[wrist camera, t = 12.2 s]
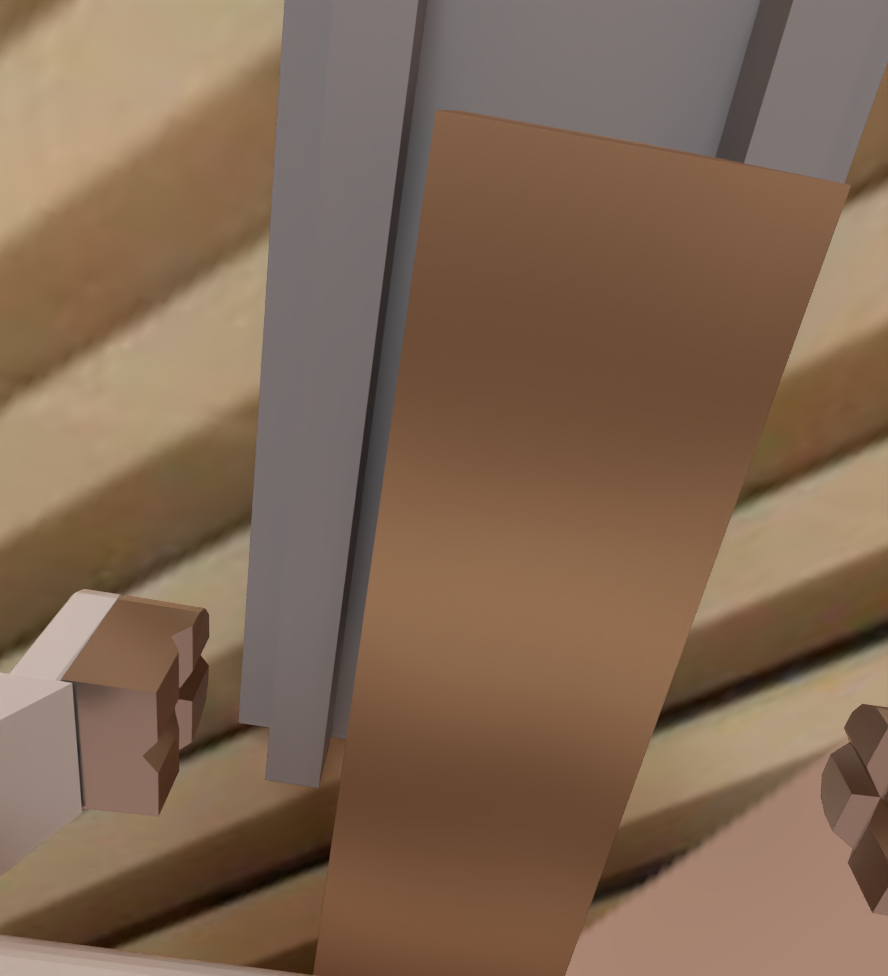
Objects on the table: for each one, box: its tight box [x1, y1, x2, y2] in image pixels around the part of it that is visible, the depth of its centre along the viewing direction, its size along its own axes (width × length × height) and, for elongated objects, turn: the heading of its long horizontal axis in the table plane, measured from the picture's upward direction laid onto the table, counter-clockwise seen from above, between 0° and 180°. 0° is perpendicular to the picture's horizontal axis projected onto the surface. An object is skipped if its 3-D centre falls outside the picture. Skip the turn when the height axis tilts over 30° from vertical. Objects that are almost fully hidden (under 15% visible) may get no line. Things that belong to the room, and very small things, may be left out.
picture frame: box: [313, 110, 851, 976], centre depth 15 cm, size 14×4×10 cm, turn 171°
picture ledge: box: [239, 0, 888, 788], centre depth 19 cm, size 21×12×4 cm, turn 171°
